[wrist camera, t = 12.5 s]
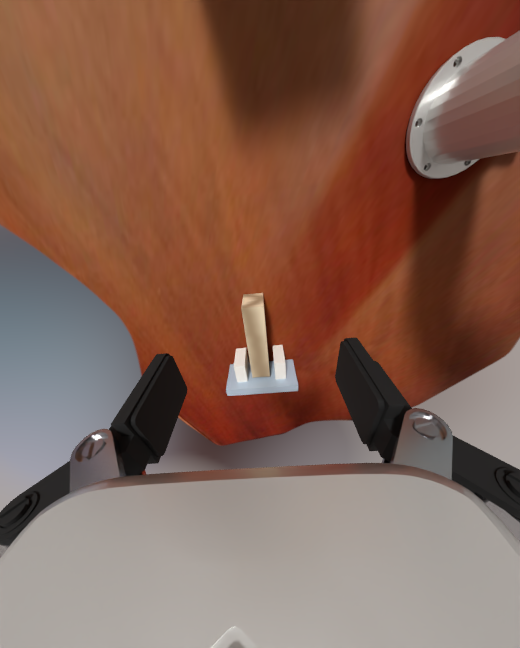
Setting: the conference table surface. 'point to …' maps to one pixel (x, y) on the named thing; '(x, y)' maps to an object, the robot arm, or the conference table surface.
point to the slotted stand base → (278, 380)
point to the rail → (256, 334)
